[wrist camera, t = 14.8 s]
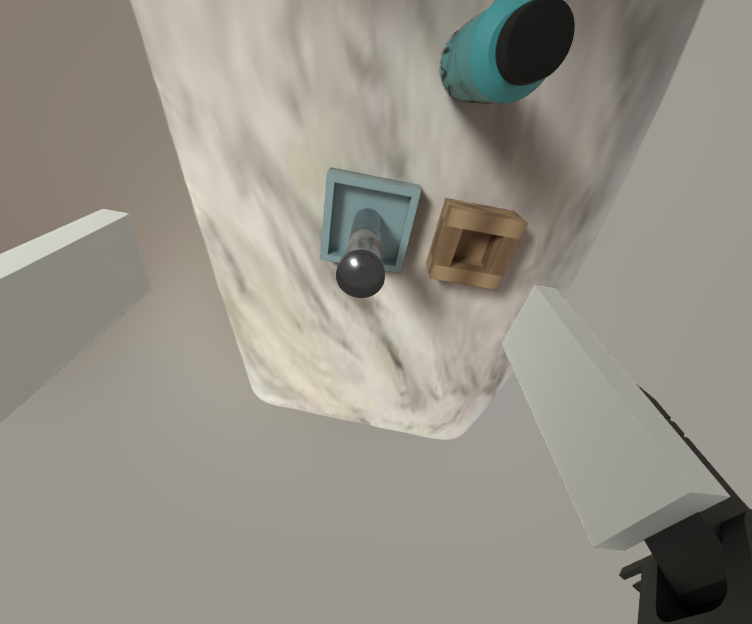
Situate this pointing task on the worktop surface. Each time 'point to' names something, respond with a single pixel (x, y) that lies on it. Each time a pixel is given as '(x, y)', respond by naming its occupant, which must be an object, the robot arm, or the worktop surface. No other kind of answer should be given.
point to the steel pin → (362, 257)
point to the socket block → (474, 243)
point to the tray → (375, 193)
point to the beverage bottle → (507, 50)
